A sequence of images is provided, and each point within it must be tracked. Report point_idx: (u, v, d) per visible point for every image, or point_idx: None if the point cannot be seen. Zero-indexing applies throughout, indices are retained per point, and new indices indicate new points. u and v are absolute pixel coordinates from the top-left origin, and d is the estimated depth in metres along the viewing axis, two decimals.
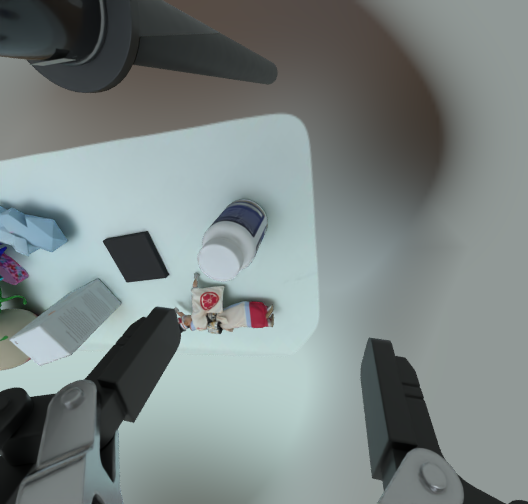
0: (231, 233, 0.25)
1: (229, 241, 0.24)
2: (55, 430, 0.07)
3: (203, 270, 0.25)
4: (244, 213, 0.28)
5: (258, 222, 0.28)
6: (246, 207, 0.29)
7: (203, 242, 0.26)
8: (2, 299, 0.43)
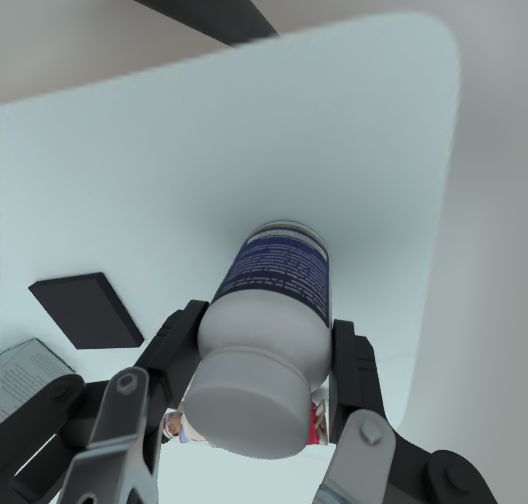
0: (277, 330, 0.09)
1: (276, 363, 0.08)
2: (108, 411, 0.07)
3: (200, 432, 0.09)
4: (297, 261, 0.12)
5: (326, 277, 0.13)
6: (296, 241, 0.13)
7: (200, 340, 0.10)
8: None
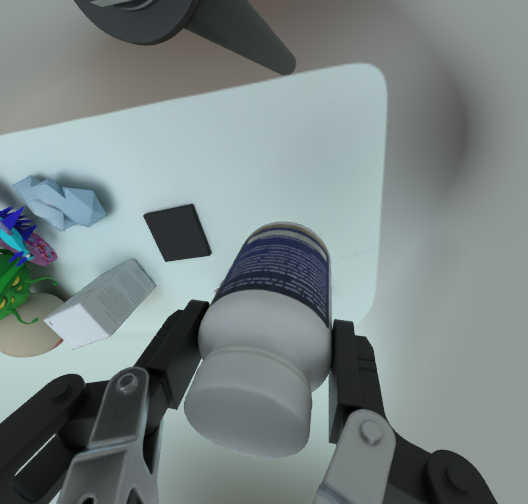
0: (277, 330, 0.09)
1: (277, 363, 0.08)
2: (108, 412, 0.07)
3: (201, 431, 0.09)
4: (297, 261, 0.12)
5: (326, 277, 0.13)
6: (295, 242, 0.13)
7: (201, 340, 0.10)
8: (31, 280, 0.40)
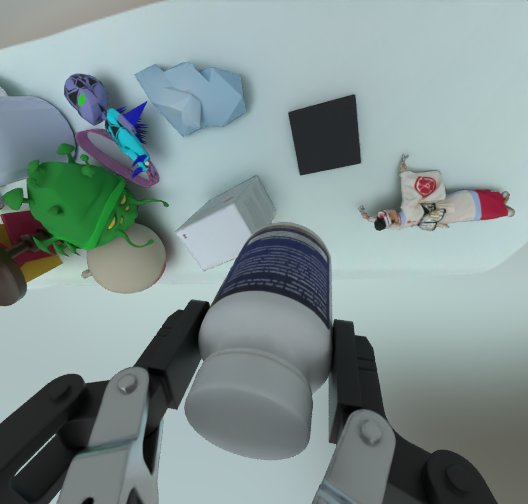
0: (277, 332, 0.09)
1: (277, 364, 0.08)
2: (108, 411, 0.07)
3: (201, 433, 0.09)
4: (297, 262, 0.12)
5: (326, 278, 0.13)
6: (296, 243, 0.13)
7: (201, 341, 0.10)
8: (137, 201, 0.35)
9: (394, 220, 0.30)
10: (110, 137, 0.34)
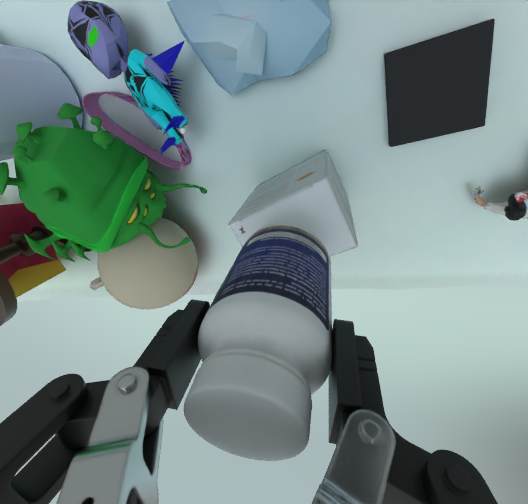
0: (277, 333, 0.09)
1: (276, 365, 0.08)
2: (108, 411, 0.07)
3: (201, 433, 0.09)
4: (297, 263, 0.12)
5: (326, 279, 0.13)
6: (295, 244, 0.13)
7: (201, 342, 0.10)
8: (165, 187, 0.26)
9: None
10: (129, 100, 0.26)
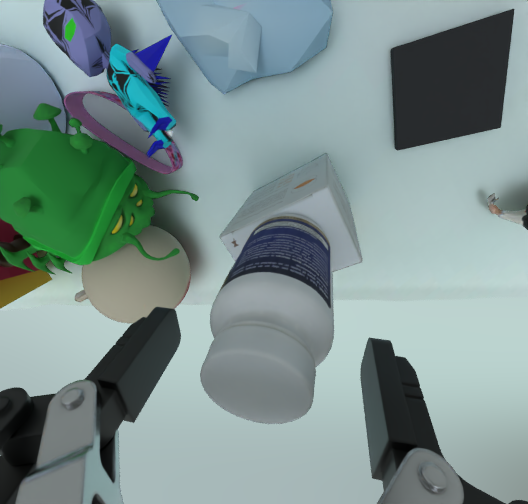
0: (283, 308, 0.10)
1: (284, 334, 0.09)
2: (55, 430, 0.07)
3: (215, 399, 0.10)
4: (301, 248, 0.13)
5: (328, 264, 0.14)
6: (299, 232, 0.14)
7: (213, 319, 0.11)
8: (154, 193, 0.24)
9: None
10: (114, 100, 0.24)
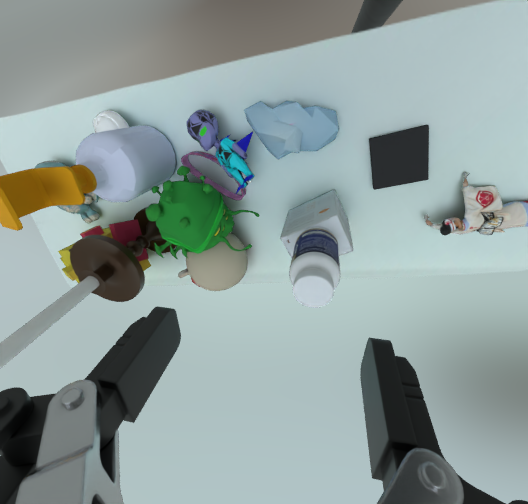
0: (322, 264, 0.27)
1: (323, 272, 0.26)
2: (55, 430, 0.07)
3: (297, 297, 0.27)
4: (326, 243, 0.30)
5: (337, 250, 0.31)
6: (324, 236, 0.31)
7: (292, 270, 0.29)
8: (233, 212, 0.42)
9: (458, 226, 0.37)
10: (212, 159, 0.41)
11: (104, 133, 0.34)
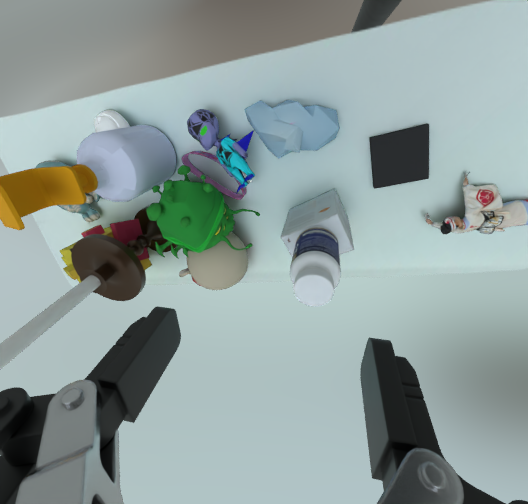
0: (322, 263, 0.27)
1: (324, 271, 0.27)
2: (55, 430, 0.07)
3: (297, 296, 0.27)
4: (326, 242, 0.30)
5: (337, 249, 0.31)
6: (324, 235, 0.31)
7: (293, 269, 0.29)
8: (233, 211, 0.42)
9: (458, 225, 0.37)
10: (212, 158, 0.41)
11: (105, 133, 0.34)
